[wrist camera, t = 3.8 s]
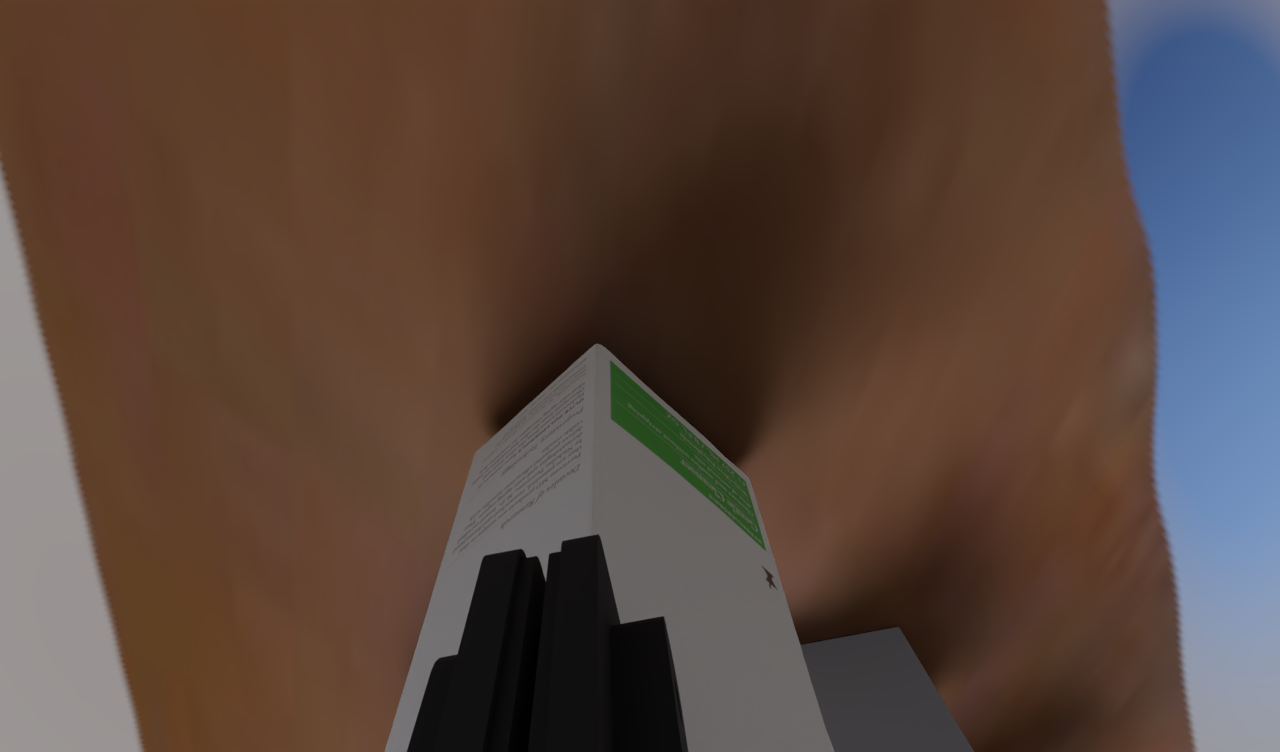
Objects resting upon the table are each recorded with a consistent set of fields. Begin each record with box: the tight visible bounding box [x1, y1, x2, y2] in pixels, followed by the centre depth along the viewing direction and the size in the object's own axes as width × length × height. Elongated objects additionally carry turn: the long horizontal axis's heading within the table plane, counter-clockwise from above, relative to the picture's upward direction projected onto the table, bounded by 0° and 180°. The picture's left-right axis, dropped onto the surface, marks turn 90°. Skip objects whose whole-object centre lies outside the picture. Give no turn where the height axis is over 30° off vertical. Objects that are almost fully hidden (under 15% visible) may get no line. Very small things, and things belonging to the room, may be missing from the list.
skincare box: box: [385, 344, 833, 752], centre depth 17 cm, size 8×7×16 cm
